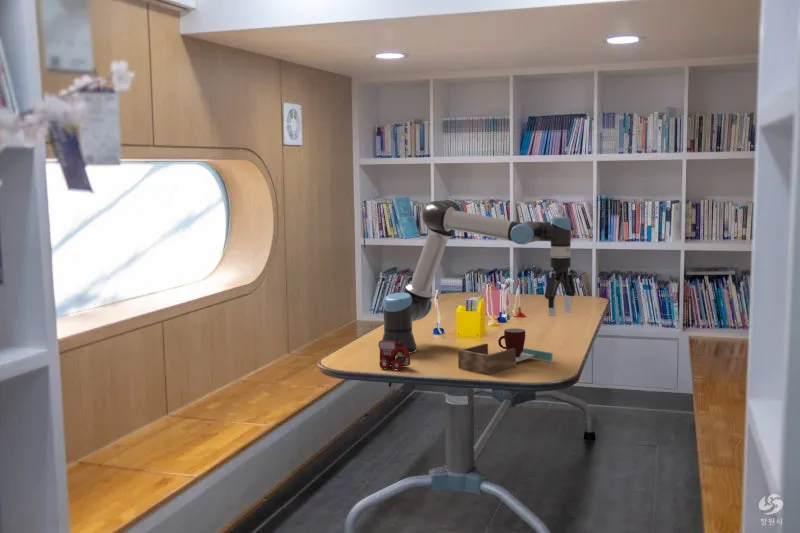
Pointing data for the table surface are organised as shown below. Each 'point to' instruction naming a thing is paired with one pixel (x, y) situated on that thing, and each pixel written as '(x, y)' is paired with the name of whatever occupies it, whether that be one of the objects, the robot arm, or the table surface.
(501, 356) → the box
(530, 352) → the tray
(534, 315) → the table surface
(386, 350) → the toy fire truck
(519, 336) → the mug
